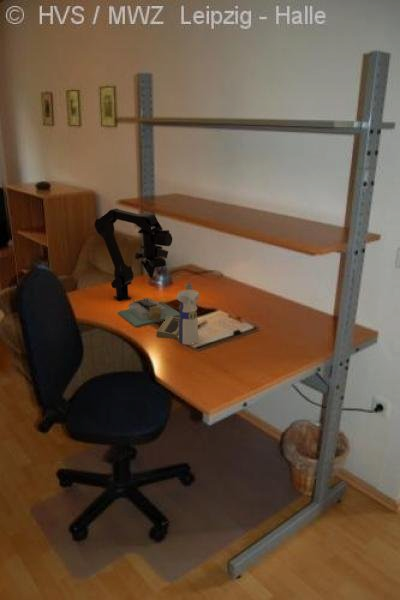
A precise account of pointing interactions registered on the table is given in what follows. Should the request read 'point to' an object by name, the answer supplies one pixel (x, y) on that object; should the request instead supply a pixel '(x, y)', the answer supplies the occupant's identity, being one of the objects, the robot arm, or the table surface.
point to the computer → (169, 328)
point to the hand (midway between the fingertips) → (150, 277)
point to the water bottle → (188, 315)
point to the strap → (146, 303)
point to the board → (138, 322)
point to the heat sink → (147, 310)
